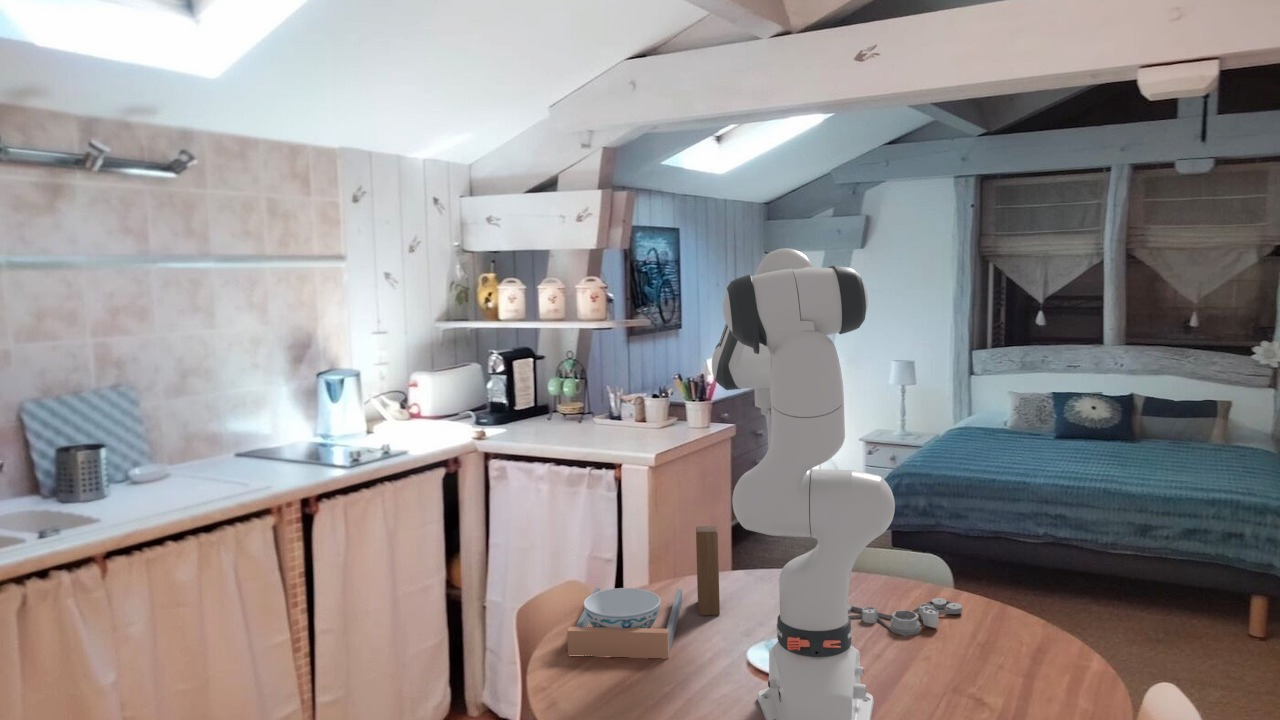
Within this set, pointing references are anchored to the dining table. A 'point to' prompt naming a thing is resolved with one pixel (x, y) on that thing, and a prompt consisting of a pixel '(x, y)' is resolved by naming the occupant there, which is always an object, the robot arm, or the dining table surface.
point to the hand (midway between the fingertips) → (777, 463)
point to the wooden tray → (623, 638)
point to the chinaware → (622, 608)
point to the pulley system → (909, 616)
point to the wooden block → (707, 570)
